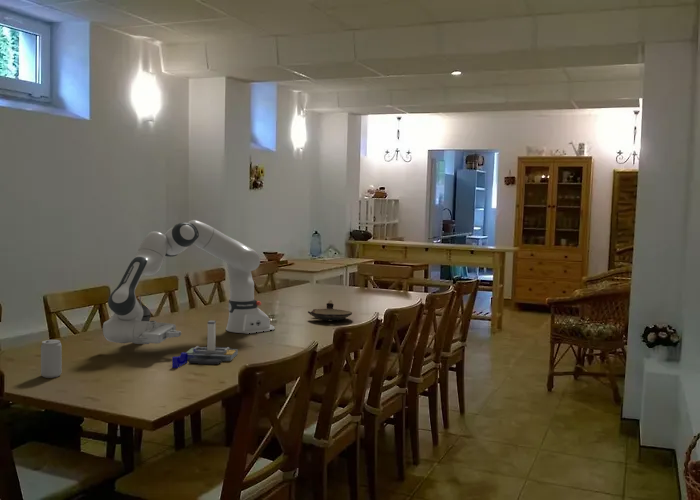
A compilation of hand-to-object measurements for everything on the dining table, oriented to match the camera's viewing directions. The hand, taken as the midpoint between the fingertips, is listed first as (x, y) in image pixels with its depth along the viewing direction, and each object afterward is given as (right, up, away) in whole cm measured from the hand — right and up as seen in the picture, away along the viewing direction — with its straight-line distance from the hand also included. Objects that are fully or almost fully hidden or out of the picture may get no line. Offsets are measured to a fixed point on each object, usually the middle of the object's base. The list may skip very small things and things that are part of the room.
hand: (180, 334), depth 253 cm
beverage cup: (-22, -6, +21) cm, 31 cm away
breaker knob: (+12, -7, 0) cm, 14 cm away
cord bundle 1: (+13, -8, +10) cm, 18 cm away
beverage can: (-36, -10, -31) cm, 49 cm away
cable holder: (+3, -10, -13) cm, 17 cm away
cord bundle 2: (+12, -10, -10) cm, 18 cm away
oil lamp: (+57, -3, +84) cm, 101 cm away
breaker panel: (+12, -9, 0) cm, 15 cm away
